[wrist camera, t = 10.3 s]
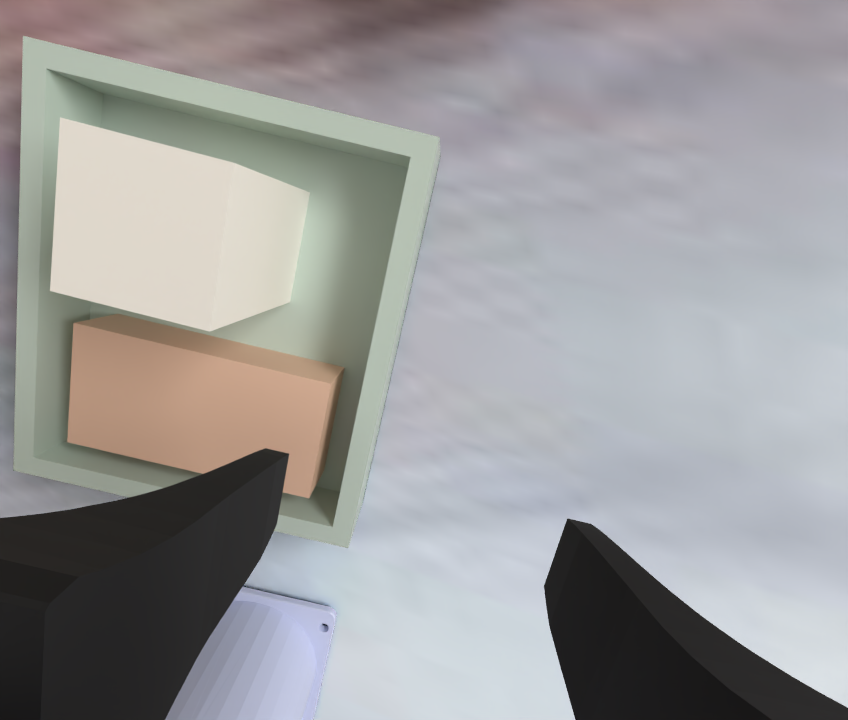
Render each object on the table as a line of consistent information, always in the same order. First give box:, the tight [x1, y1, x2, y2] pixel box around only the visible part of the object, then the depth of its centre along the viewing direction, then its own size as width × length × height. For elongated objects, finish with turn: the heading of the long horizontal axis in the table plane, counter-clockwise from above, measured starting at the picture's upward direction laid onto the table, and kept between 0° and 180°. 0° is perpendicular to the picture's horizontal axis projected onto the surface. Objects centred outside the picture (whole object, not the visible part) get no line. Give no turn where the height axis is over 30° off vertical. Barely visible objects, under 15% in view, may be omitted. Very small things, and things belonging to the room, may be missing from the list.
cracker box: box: [67, 314, 345, 498], centre depth 20 cm, size 5×10×2 cm, turn 77°
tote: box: [13, 36, 440, 548], centre depth 19 cm, size 16×14×4 cm
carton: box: [50, 117, 310, 332], centre depth 16 cm, size 4×4×7 cm
